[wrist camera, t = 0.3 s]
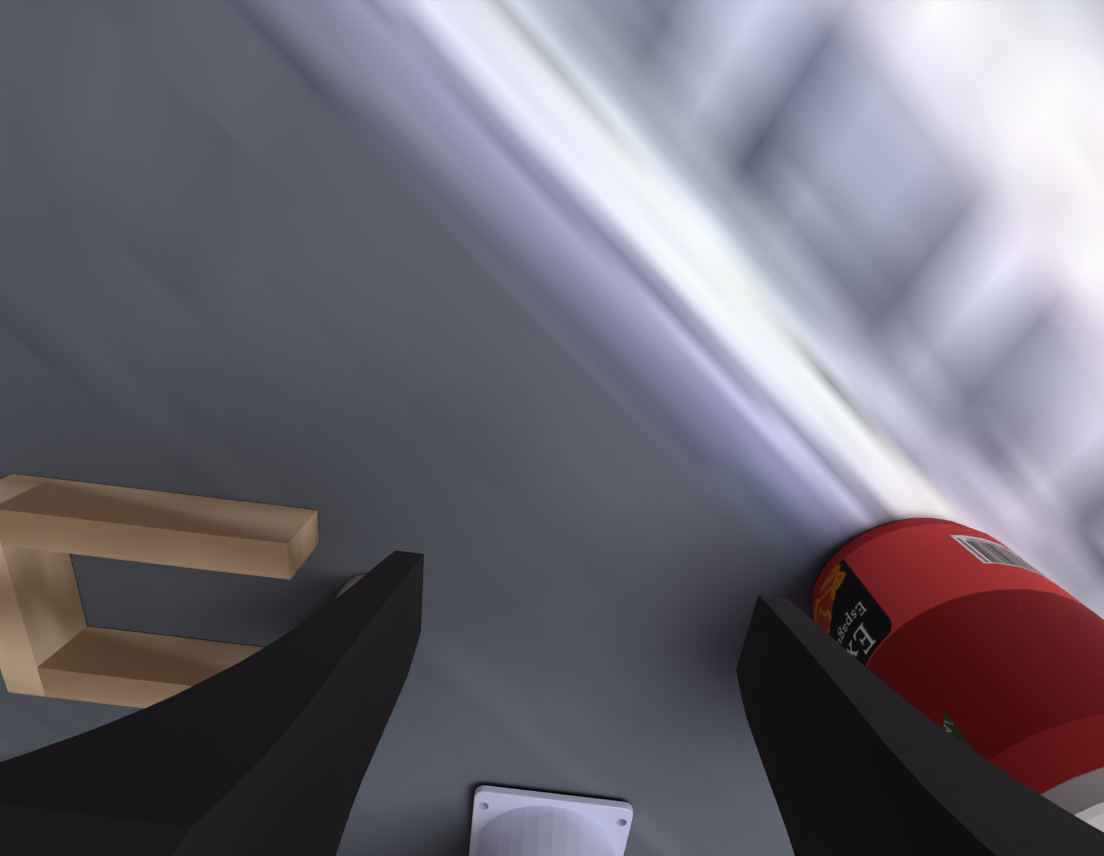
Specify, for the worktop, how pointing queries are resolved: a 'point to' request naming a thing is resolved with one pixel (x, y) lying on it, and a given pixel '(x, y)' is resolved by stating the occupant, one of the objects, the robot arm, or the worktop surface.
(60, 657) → the cradle
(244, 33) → the worktop surface
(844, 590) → the canned food
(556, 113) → the worktop surface
